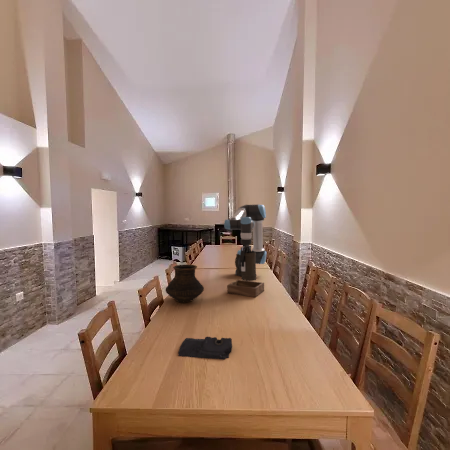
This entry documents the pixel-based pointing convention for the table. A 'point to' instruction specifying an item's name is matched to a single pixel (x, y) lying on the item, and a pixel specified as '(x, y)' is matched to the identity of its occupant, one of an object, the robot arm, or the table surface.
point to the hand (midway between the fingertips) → (245, 269)
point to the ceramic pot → (184, 284)
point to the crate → (245, 288)
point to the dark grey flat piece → (206, 348)
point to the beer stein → (247, 266)
